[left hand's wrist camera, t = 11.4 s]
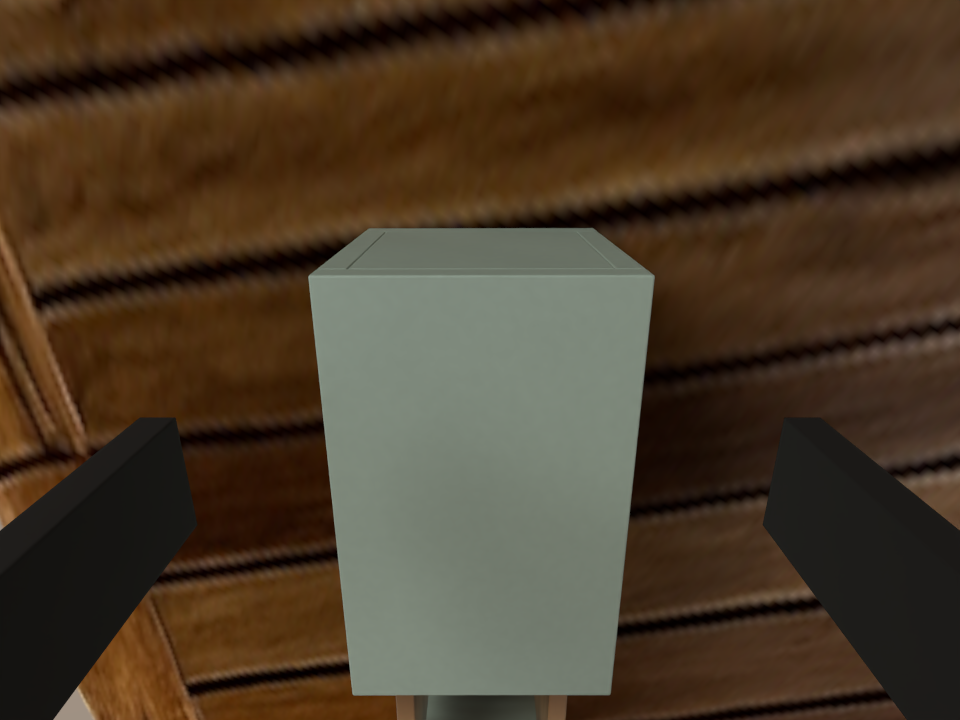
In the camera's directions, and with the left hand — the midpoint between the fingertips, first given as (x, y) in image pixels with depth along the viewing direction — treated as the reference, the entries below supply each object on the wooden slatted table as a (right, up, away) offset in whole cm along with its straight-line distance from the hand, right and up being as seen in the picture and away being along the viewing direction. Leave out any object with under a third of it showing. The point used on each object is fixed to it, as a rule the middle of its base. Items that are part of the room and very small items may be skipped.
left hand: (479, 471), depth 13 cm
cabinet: (0, +1, +17) cm, 17 cm away
